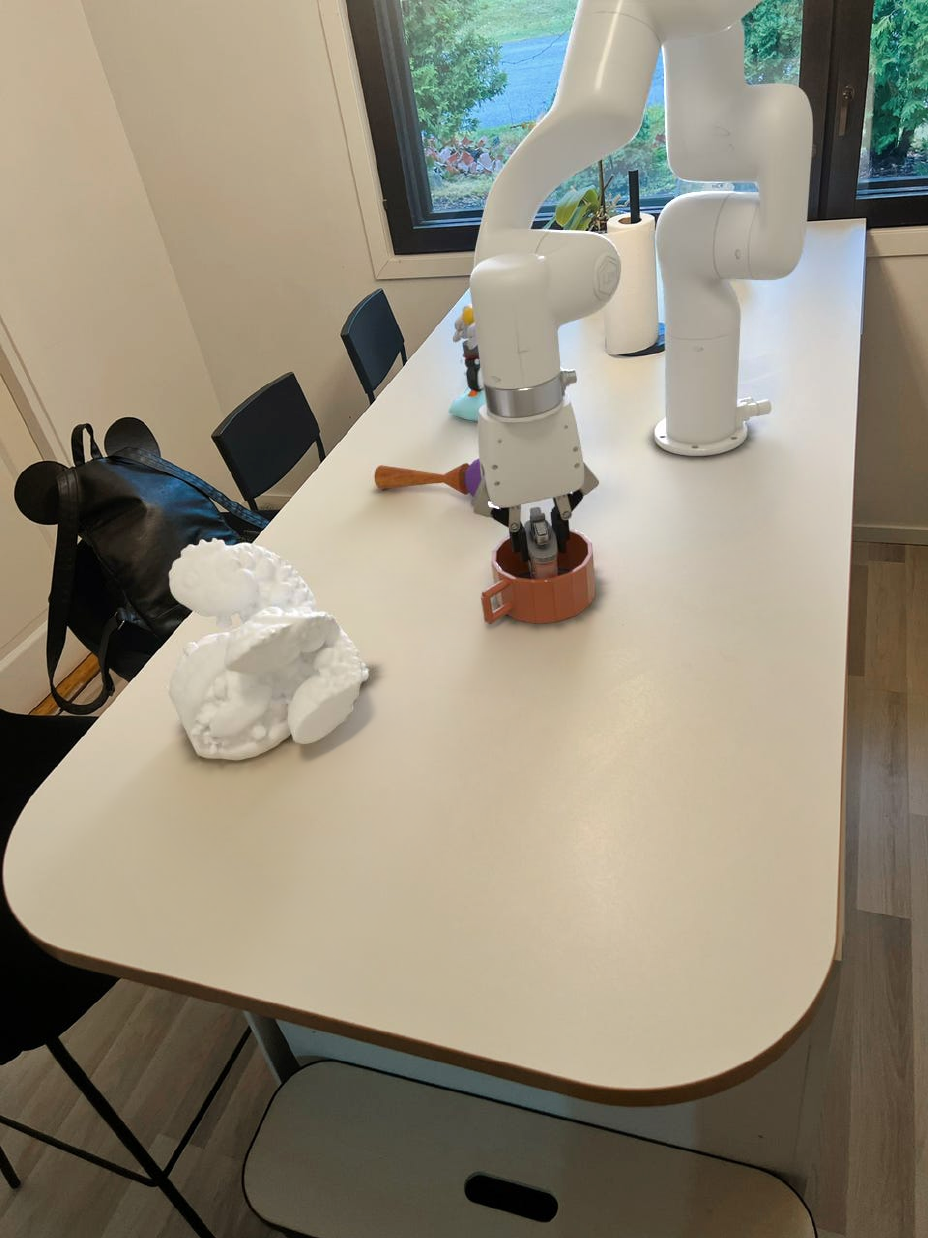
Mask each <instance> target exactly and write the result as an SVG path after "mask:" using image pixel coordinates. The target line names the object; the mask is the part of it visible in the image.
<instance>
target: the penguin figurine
mask: <svg viewBox="0 0 928 1238" xmlns="http://www.w3.org/2000/svg"><path fill="white" fill-rule="evenodd" d="M461 311H462V313H461V314H460V315H459V316H458V317H457V318H456V320H455V322H454V329H455V332H454V334H453V336H452V341H453V343H458V342H460V341H461V339H463V340H464V341H463V342H462V343H461V345H462V351H463V354H462V357H463V358H464V366H465V367H466V370H465V371H464V374H463V375H464V377H466V384H467V387H466V389H465V391H464V392H463V393H462V394H461V395H460V396H458V397H456V399H454V400H453V402H452V403H451V405H450V407H449V409H448V413H449V414H451V415H453V416H457V417H459V418H463V419H465V420H468V421H473V422H474V421H477V422H478V414H479V409H480V408H481V407H482V406H483V405H486V400H485V393H484V386H483V378H482V371H481V365H480V358H479V351H478V344H477V337H476V330H475V323H474V316H473V308H472V302H469V303H467V304H465V305H464V306H463V307H462V310H461ZM459 361H460V363H463V360H459Z"/></svg>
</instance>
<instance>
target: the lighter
mask: <svg viewBox="0 0 928 1238" xmlns="http://www.w3.org/2000/svg"><path fill="white" fill-rule="evenodd" d="M546 518H547V517H546V514H545V512H542V509H541V507H540V506H534V507H530V508H529V520H527V521H526V522H524V524H523V527H524V529H525V531H526V537H527V545H528V554H529V560H528V561H527V564H528V567H529V570H530V571H529V573H530V574H529V579H530V580H535V579H548V578H553V577H557V576H559V570H558V569H559V568H557V540H556V535H555V532H554V530H553V529H552V525H551V523H550V522H549V521H548V520H547V519H546Z"/></svg>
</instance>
